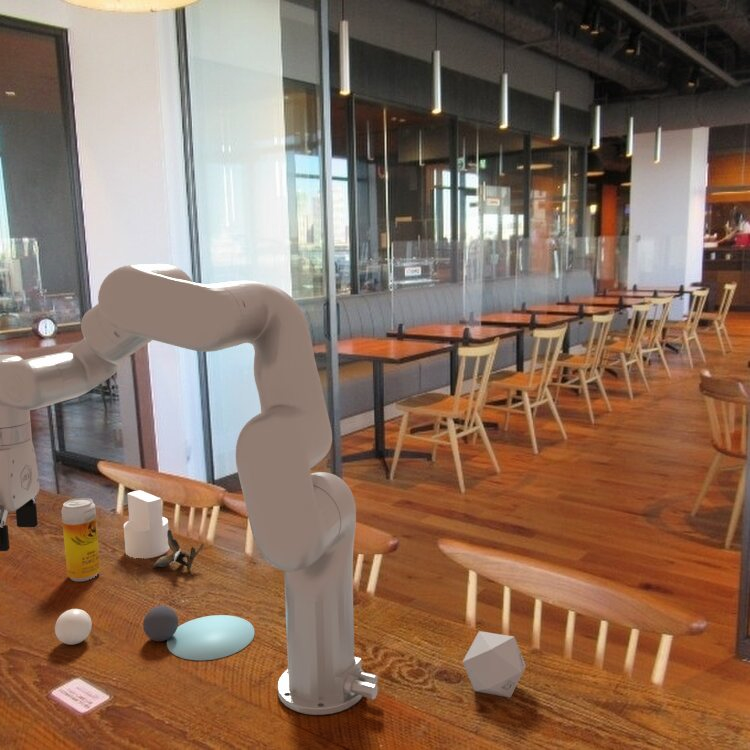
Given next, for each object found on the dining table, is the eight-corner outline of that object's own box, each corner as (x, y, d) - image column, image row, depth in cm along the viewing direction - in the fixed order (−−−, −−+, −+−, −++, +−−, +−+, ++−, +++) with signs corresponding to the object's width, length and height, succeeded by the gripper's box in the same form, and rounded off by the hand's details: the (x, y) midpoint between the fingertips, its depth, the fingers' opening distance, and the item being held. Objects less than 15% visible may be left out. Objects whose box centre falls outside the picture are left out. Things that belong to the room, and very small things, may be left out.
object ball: (186, 634, 121) (184, 603, 120) (162, 651, 116) (160, 618, 115) (161, 627, 124) (159, 596, 123) (136, 643, 119) (134, 611, 118)
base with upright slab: (178, 549, 157) (174, 495, 155) (139, 562, 150) (135, 506, 148) (155, 538, 163) (152, 486, 161) (117, 550, 156) (113, 496, 154)
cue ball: (100, 638, 121) (97, 606, 120) (72, 654, 116) (69, 622, 115) (76, 630, 123) (74, 600, 122) (48, 646, 118) (45, 614, 117)
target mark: (271, 626, 123) (271, 625, 123) (217, 669, 111) (217, 667, 111) (206, 609, 130) (206, 608, 130) (148, 647, 117) (147, 646, 117)
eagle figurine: (209, 555, 150) (172, 540, 154) (199, 534, 145) (161, 518, 149) (185, 588, 145) (148, 572, 149) (174, 567, 140) (135, 551, 144)
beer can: (89, 583, 141) (82, 508, 138) (60, 581, 142) (54, 507, 139) (106, 570, 147) (101, 498, 144) (79, 568, 148) (73, 496, 145)
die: (494, 719, 99) (536, 662, 99) (444, 675, 102) (484, 619, 102) (503, 706, 107) (543, 653, 106) (456, 665, 110) (494, 613, 110)
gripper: (1, 449, 106) (11, 560, 109) (52, 421, 124) (59, 518, 126) (-51, 449, 106) (-40, 560, 109) (7, 421, 123) (15, 518, 126)
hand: (13, 538), depth 118 cm, fingers open, 9 cm apart
